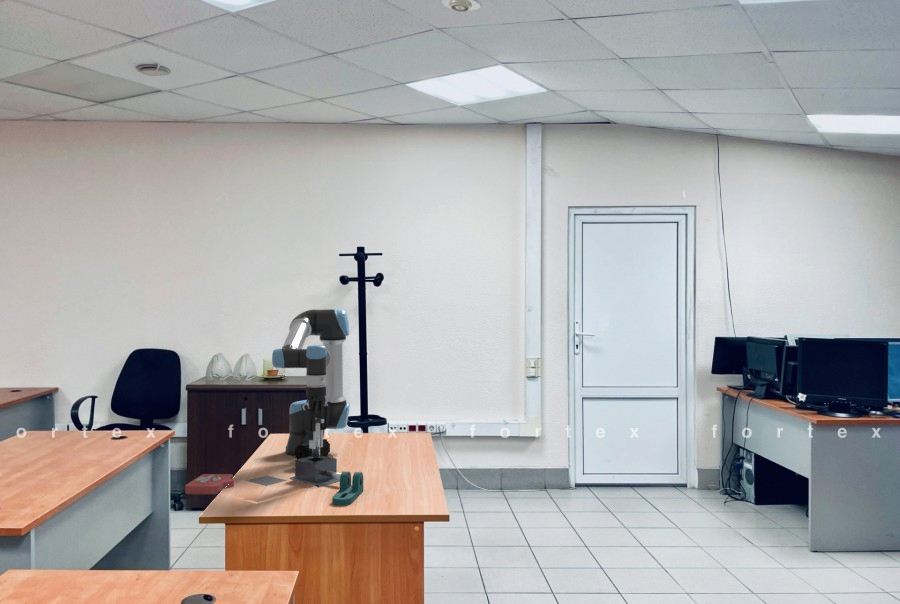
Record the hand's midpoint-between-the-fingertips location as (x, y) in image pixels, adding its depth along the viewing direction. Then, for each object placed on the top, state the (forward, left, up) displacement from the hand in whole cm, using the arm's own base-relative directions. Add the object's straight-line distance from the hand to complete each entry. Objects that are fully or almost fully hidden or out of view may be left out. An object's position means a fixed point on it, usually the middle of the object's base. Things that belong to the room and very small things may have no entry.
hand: (316, 447), depth 267 cm
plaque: (-22, -30, -13) cm, 39 cm away
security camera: (-19, +16, -13) cm, 28 cm away
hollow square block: (+3, 0, -13) cm, 13 cm away
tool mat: (-13, -13, -13) cm, 22 cm away
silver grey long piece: (0, 0, -3) cm, 3 cm away
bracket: (+26, -10, -13) cm, 31 cm away
